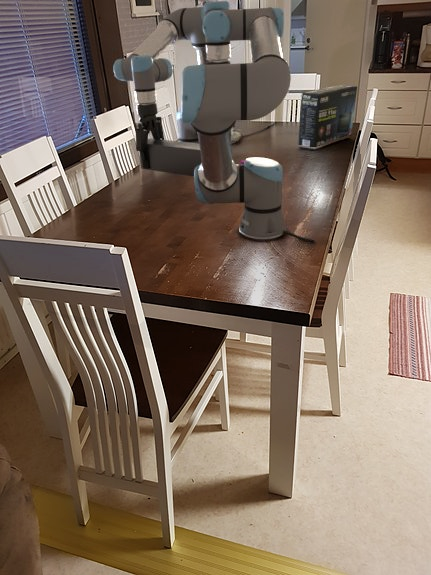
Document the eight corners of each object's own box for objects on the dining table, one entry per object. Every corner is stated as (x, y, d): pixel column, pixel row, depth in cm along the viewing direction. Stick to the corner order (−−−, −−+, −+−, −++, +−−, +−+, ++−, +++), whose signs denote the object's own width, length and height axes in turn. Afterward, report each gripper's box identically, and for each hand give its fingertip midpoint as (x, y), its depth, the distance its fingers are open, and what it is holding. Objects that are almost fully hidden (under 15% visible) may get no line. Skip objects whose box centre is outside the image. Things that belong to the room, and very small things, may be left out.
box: (213, 172, 170) (212, 145, 165) (203, 177, 165) (201, 150, 159) (152, 163, 183) (150, 138, 177) (141, 168, 177) (138, 142, 172)
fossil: (234, 138, 244) (215, 120, 247) (224, 155, 250) (206, 137, 254) (251, 137, 258) (232, 120, 261) (240, 153, 264) (223, 136, 267)
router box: (314, 151, 231) (318, 94, 217) (296, 148, 237) (299, 92, 224) (352, 138, 251) (358, 85, 238) (335, 135, 258) (340, 83, 245)
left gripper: (154, 98, 176) (160, 157, 187) (120, 107, 161) (128, 171, 172) (170, 99, 172) (175, 159, 184) (136, 108, 157) (144, 174, 169)
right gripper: (228, 55, 151) (229, 122, 162) (184, 65, 133) (189, 139, 145) (248, 56, 147) (248, 124, 159) (206, 66, 130) (209, 142, 141)
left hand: (153, 165), depth 178 cm, fingers closed on box, 7 cm apart
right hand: (220, 131), depth 152 cm, fingers open, 13 cm apart
